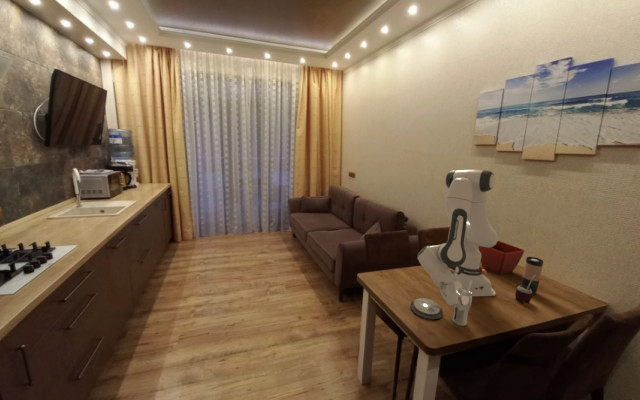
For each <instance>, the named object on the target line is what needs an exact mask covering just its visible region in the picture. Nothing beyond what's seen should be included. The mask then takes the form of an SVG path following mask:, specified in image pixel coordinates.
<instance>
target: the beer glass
mask: <svg viewBox="0 0 640 400" xmlns="http://www.w3.org/2000/svg"><path fill="white" fill-rule="evenodd" d="M457 290H460V294H459V293H458V292H457V294H458V296H459V298H458V301H459V303H460V304H461V305H462V306H463V307H464V309H463V310H462V311H460V310H459V309H458V307H456V306H455V305H453V308H454V309H453V311H454V312H453V316H452V320H451V321H452V322H453V323H454V324H456V325H458V326H460V327H461V326H462V327H464V326H467V324H468V322H467V318H468V314H469V311H470V310H471V307H472V304H473V303H472V301H473V296H472V293H471V292H470V291H468V290H465V289H457Z"/></svg>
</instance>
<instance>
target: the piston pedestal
mask: <svg viewBox="0 0 640 400" xmlns="http://www.w3.org/2000/svg"><path fill="white" fill-rule="evenodd" d="M409 307H410V311H411V312H412V313H413V314H414V315H416V316H418V317H419V318H421V319H424V320H429V321H437V320H440V319H442V318H443V316H444V315H443V314H444V311H443V310H442V308H441V306H440V304H438V303H437V302H436V301H434V300H432V299H429V298H425V297H419V298H416V299H414V300H413V301H411V303H410V306H409Z"/></svg>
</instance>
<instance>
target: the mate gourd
mask: <svg viewBox="0 0 640 400" xmlns="http://www.w3.org/2000/svg"><path fill="white" fill-rule="evenodd" d="M535 276H536V275H535ZM535 276H534V277H535ZM534 277H533V278H534ZM533 278H532V279H531V281H530V283H529V285H528V287H527V286H522V285H518V286H517V287H516V289H515V299H514V300H515V301H519V302H520V303H521V304H522V305H523V304H524V303H525V304H530V303H531V302H530V301H531V299H532V298H533V295H532V290H531V289H530V288H529V286H530V284H531V282H532V280H533Z"/></svg>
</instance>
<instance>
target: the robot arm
mask: <svg viewBox="0 0 640 400" xmlns="http://www.w3.org/2000/svg"><path fill="white" fill-rule="evenodd" d="M495 180H496V178H495V175H494V173H493V172H492V171H490V170H486V169H485V170H481V169H472V168H471V169H460V170H459V169H458V170H457V169H453V170H450V171H449V172H448V173H447V174H446V176H445V185H446V187H447V188H448V191H447V194H446V198H445V204H444V213H445V215H447V217H448V218H449V231H448V236H447V241H446V243H441V244H437V245H426V246H424V247H422V248H421V250H419V252H418V253H417V260H418V262H419V264H420V265H421V266H422V269H424V271H426V272H427V273H428V274H429V277H430V278H431V280H432V281H433V282H434V284H435V285H436V286H437V287H438V288H439V289H440V290H439V292H440V295H441V297H442V298H443V299H444V301H445V303H446V304H447V305H448V306H449V307H454V305H455V306H456V307H458V309H459V310H460V311H462V310H463V309H464V307H463V306H462V305H461V304H460V303H459V301H458V298H459V296H458V294H457V292H458V293H459V294H460V290H457V289H465V290H468V291H470V292H471V293H472V297H494V296H496V295H497V294H496V291H495V290H494V289H493V288H492V283H491V280H490V279H489V278H488V277H486V275H484V274H487V269H486V268H483V267H482V266H481V253H480V251H479V246H482V247H487V248H491V247H493V246H494V245H495V244H496V243H497V241H499V235H498V232H497V231H496V230H495V229H494V228H493V227H492V225H491V222H490V220H489V218H488V214H487V192H489V191H491V190H492V189H493V187H494V185H495V183H496V182H495ZM447 265H448V266H450V267H456V270H454V269H452V268H450V267H449V268H448V266H447Z"/></svg>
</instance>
